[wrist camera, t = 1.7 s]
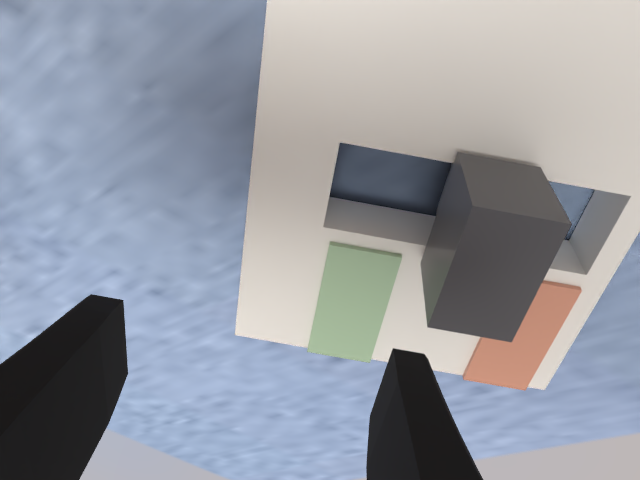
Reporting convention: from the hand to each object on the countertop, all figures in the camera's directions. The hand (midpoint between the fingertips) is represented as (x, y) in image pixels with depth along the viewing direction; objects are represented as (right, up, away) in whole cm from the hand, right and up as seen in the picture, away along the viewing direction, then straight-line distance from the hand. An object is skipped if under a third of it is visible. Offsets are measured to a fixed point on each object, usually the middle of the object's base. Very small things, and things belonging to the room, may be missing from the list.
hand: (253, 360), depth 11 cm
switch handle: (+6, +4, +8) cm, 11 cm away
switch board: (+5, +5, +8) cm, 10 cm away
